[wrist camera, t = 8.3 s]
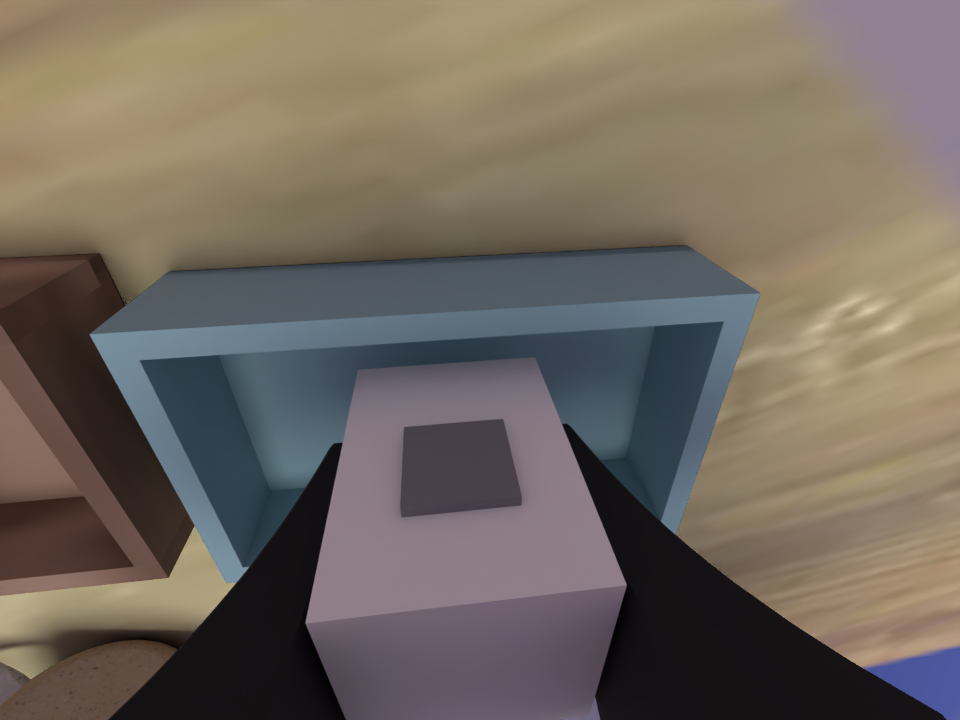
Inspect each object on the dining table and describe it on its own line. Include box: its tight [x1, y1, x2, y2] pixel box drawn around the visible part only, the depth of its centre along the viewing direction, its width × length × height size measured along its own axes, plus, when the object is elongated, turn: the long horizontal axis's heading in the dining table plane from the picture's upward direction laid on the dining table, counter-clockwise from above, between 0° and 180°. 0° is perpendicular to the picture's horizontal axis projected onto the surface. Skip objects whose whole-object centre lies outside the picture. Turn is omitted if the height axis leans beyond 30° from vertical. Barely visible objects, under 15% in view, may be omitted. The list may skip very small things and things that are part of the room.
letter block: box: [305, 357, 627, 720], centre depth 9 cm, size 4×4×6 cm
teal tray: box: [90, 245, 760, 583], centre depth 12 cm, size 13×8×3 cm, turn 91°
